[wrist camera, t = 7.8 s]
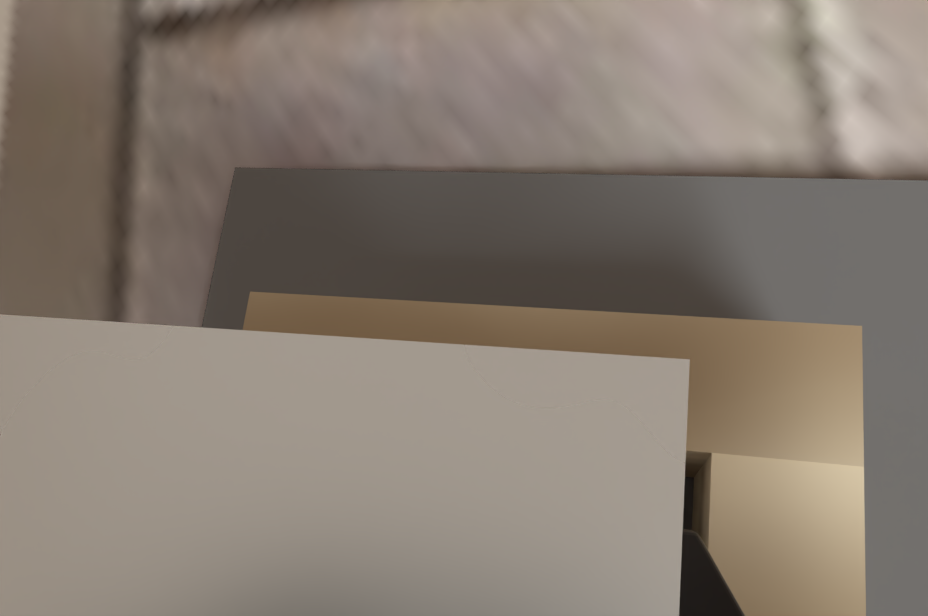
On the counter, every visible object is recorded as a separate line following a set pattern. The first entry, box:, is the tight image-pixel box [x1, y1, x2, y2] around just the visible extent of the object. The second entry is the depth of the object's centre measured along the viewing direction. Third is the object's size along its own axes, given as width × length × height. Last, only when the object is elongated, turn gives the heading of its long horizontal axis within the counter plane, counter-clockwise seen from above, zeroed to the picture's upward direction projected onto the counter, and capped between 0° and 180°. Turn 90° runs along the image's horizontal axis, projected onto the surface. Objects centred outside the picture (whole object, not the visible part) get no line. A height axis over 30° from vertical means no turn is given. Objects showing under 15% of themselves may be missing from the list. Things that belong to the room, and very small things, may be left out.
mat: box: [202, 168, 928, 616], centre depth 16 cm, size 18×16×1 cm
